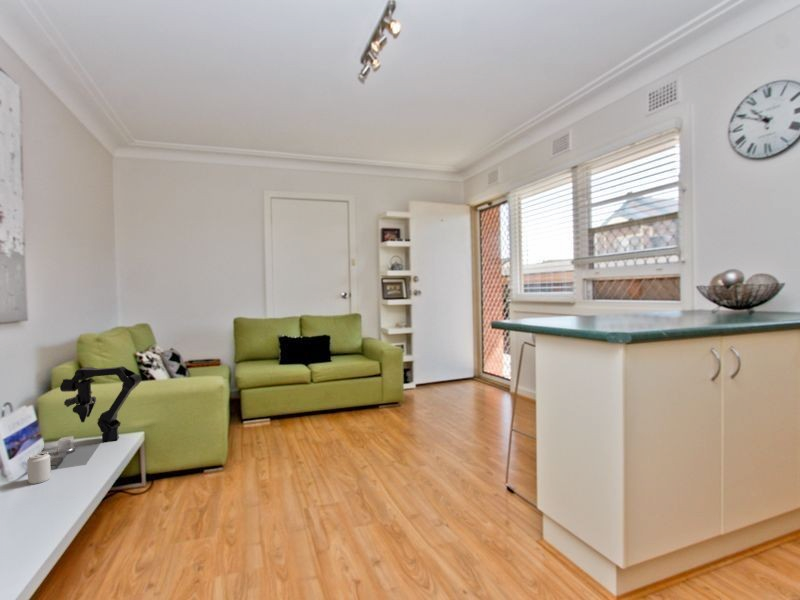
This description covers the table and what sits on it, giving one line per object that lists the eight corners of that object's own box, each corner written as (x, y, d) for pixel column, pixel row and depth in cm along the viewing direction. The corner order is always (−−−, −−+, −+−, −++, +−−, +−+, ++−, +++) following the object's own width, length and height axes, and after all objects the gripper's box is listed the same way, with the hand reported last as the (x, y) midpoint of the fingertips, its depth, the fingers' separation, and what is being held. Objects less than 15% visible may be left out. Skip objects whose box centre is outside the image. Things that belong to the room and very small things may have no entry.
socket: (73, 445, 211) (73, 436, 211) (70, 449, 207) (70, 439, 206) (61, 447, 209) (61, 437, 209) (58, 451, 205) (57, 441, 204)
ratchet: (77, 448, 213) (76, 439, 212) (60, 468, 190) (60, 458, 190) (60, 450, 210) (59, 442, 210) (41, 471, 188) (41, 461, 187)
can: (55, 477, 183) (54, 451, 182) (39, 485, 175) (38, 458, 175) (40, 476, 184) (39, 450, 183) (23, 484, 176) (22, 457, 175)
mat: (100, 443, 220) (100, 442, 220) (85, 465, 194) (85, 464, 194) (58, 449, 212) (58, 448, 212) (37, 472, 187) (37, 471, 187)
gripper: (71, 388, 227) (72, 416, 227) (59, 397, 210) (60, 427, 210) (95, 386, 231) (97, 413, 232) (86, 395, 214) (87, 424, 215)
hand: (85, 419), depth 222 cm, fingers open, 9 cm apart
